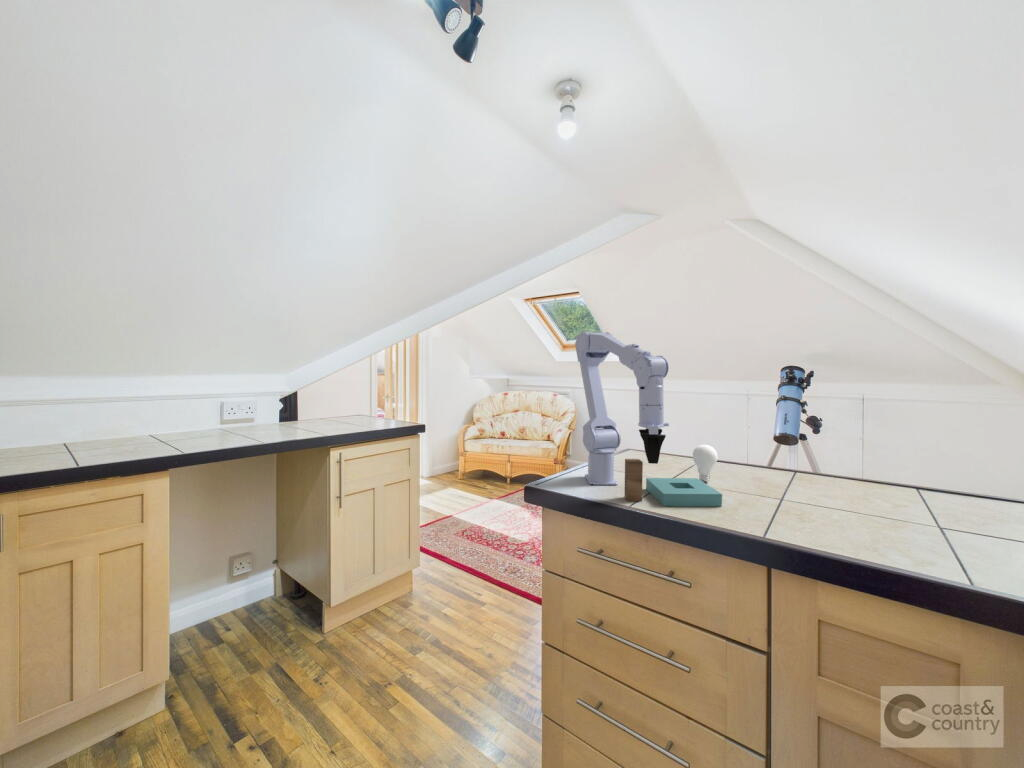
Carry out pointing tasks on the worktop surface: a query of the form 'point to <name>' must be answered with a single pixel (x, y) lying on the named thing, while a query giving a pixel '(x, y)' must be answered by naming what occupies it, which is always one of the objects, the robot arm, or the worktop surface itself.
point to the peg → (633, 479)
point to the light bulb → (704, 461)
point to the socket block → (683, 492)
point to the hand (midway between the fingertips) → (651, 460)
